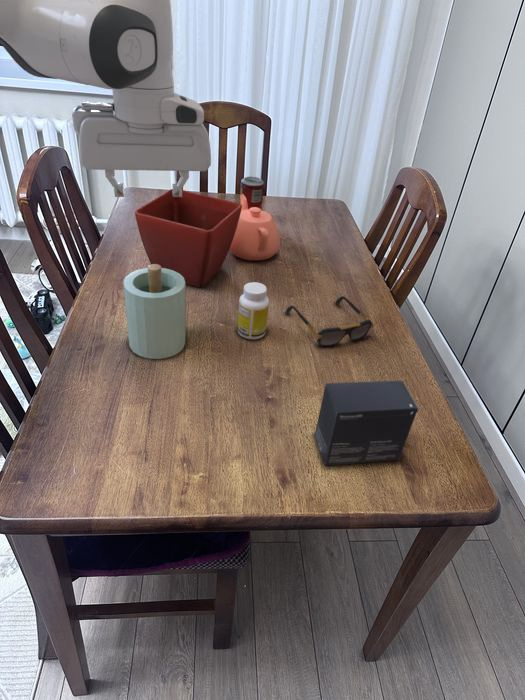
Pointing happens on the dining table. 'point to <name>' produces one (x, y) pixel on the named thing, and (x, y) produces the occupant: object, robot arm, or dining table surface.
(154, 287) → the beige handle with collar
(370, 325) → the sunglasses
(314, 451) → the dining table surface
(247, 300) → the pill bottle
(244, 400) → the dining table surface
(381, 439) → the small box
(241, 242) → the teapot
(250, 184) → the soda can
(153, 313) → the mint green tube
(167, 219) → the flower pot
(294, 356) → the dining table surface
